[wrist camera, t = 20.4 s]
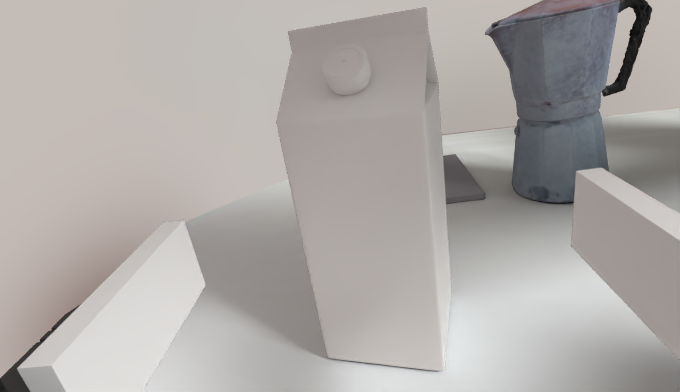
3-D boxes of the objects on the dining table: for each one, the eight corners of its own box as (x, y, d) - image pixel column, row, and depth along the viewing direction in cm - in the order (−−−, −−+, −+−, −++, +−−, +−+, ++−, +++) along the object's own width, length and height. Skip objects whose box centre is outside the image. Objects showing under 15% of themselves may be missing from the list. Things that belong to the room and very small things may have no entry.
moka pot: (469, 186, 46) (462, -8, 39) (591, 159, 48) (607, -32, 41) (518, 219, 38) (521, -22, 30) (666, 185, 39) (703, -52, 32)
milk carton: (356, 290, 31) (312, 27, 24) (452, 296, 29) (433, 6, 22) (327, 360, 25) (255, 35, 18) (444, 374, 23) (416, 7, 16)
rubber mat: (455, 158, 56) (455, 154, 55) (484, 198, 43) (484, 193, 42) (326, 175, 57) (325, 171, 57) (316, 219, 45) (315, 214, 44)
